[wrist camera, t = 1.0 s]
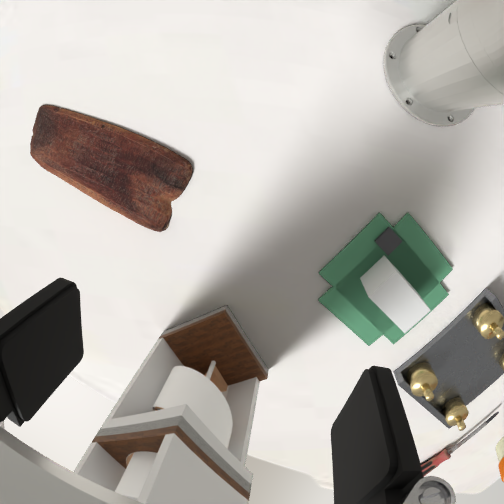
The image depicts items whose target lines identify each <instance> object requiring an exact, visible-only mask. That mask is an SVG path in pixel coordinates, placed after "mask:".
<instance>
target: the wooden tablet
mask: <svg viewBox="0 0 504 504" xmlns="http://www.w3.org/2000/svg"><path fill="white" fill-rule="evenodd" d="M30 145H31V152H30V154H31V156H32V157H33V159H35V161H36V162H37V163H38V164H39V165H40V166H41V167H43V168H44V169H46V170H47V171H49V172H51V173H52V174H54V175H56V176H57V177H59V178H61V179H62V180H64V181H66V182H67V183H69V184H70V185H72V186H74V187H76V188H77V189H79V190H80V191H82V192H83V193H85V194H87V195H88V196H90V197H92V198H93V199H95V200H97V201H98V202H100V203H102V204H103V205H105V206H107V207H109V208H110V209H112V210H114V211H116V212H118V213H120V214H121V215H124V216H125V217H127V218H129V219H131V220H132V221H134V222H136V223H138V224H140V225H142V226H144V227H146V228H149V229H151V230H154V231H159V232H161V231H164V230H166V229H167V227H168V224H169V221H170V218H171V214H172V208H171V201H174V200H175V199H177V198H178V197H179V196H180V195H181V194H182V193H183V191H184V190H185V188H186V186H187V184H188V182H189V180H190V178H191V175H192V172H193V170H192V166H191V164H190V162H189V161H188V160H186V159H185V158H183V157H181V156H180V155H177V154H176V153H174V152H173V151H171V150H169V149H168V148H165V147H163V146H161V145H159V144H157V143H155V142H153V141H151V140H149V139H147V138H145V137H142V136H140V135H138V134H135V133H133V132H130V131H128V130H125V129H123V128H120V127H118V126H115V125H112V124H109V123H106V122H103V121H100V120H98V119H95V118H92V117H89V116H86V115H83V114H79V113H76V112H73V111H70V110H67V109H63V108H61V109H60V108H59V107H55V106H50V105H43V106H41V107H40V108H39V111H38V113H37V117H36V120H35V124H34V127H33V136H32V139H31V144H30Z"/></svg>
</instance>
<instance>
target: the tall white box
mask: <svg viewBox="0 0 504 504" xmlns="http://www.w3.org/2000/svg"><path fill="white" fill-rule="evenodd" d="M267 376H268V368H267V367H266V365H265V364H264V362H263V361H262V359H261V358H260V356H259V354H258V353H257V351H256V350H255V348H254V347H253V345H252V344H251V342H250V341H249V339H248V337H247V336H246V334H245V333H244V331H243V330H242V328H241V326H240V325H239V323H238V322H237V320H236V318H235V317H234V315H233V314H232V312H231V310H230V309H229V307H228V306H227V305H226V306H224V307H221V308H219V309H217V310H214V311H212V312H210V313H207V314H205V315H202V316H200V317H198V318H195V319H193V320H190V321H188V322H186V323H183V324H181V325H178V326H176V327H174V328H171V329H169V330H166V331H164V332H163V333H162V334H161V336H160V337H159V339H158V340H157V342H156V343H155V345H154V346H153V348H152V349H151V351H150V353H149V354H148V356H147V357H146V359H145V360H144V362H143V363H142V365H141V366H140V368H139V369H138V371H137V372H136V374H135V375H134V377H133V378H132V380H131V381H130V383H129V385H128V386H127V388H126V389H125V391H124V392H123V394H122V395H121V397H120V398H119V400H118V402H117V403H116V405H115V406H114V408H113V409H112V411H111V413H110V414H109V416H108V417H107V419H106V420H105V422H104V424H103V425H102V427H101V428H100V430H99V432H98V433H97V435H96V436H95V438H94V439H93V441H92V443H91V444H90V446H89V448H88V449H87V451H86V452H85V454H84V456H83V457H82V459H81V460H80V462H79V464H78V465H77V467H76V469H75V471H74V473H76V474H78V475H80V476H82V477H84V478H86V479H88V480H90V481H92V482H94V483H96V484H98V485H100V486H102V487H105V488H107V489H109V490H111V491H114V492H116V493H118V494H121V495H123V496H126V497H128V498H131V499H133V500H136V501H138V502H141V503H144V504H248V501H249V496H250V490H251V484H252V478H253V473H251V472H250V471H249V470H248V469H247V468H246V467H245V462H246V457H247V451H248V446H249V440H250V434H251V429H252V423H253V417H254V411H255V406H256V400H257V394H258V388H259V382H260V381H262V380H265V379H267Z"/></svg>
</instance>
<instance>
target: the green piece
mask: <svg viewBox="0 0 504 504" xmlns="http://www.w3.org/2000/svg"><path fill="white" fill-rule="evenodd" d="M452 270H453V269H452V267H451V266H450V265H449V263H448V262H447V260H446V259H445V258H444V257H443V255H442V254H441V253H440V251H439V250H438V249H437V247H436V246H435V245H434V244H433V242H432V241H431V240H430V239H429V237H428V236H427V235H426V234H425V232H424V231H423V230H422V229H421V227H420V226H419V225H418V224H417V223H416V221H415V220H414V219H413V218H412V217H411V215H410V214H409V213H407V214H406V215H405V216H404V217H403V218H402V219H401V220H400V221H399V222H398V223H397V224H396V225H395V226H394V227H392V226H391V224H390V223H389V222H388V221H387V220H386V219H385V218H384V217H383V216H382V215H381V214H380V213H378V214H377V216H376V217H375V218H374V219H373V220H372V221H371V222H370V223H369V224H368V225H367V226H366V227H365V228H364V229H363V230H362V231H361V232H360V233H359V234H358V235H357V236H356V237H355V238H354V239H353V240H352V241H351V242H350V243H349V244H348V245H347V246H346V247H345V248H344V249H343V250H341V251H340V252H339V253H338V254H337V255H336V256H335V257H334V258H333V259H332V260H331V261H330V262H329V263H328V264H327V265H326V266H325V267H324V268H323V269H322V270H321V271H320V272H319V274H320V275H321V276H322V277H323V278H324V279H325V280H326V281H327V282H328V283H330V284H331V285H332V287H331V288H330V289H329V290H328V291H327V292H326V293H325V294H323V295H322V296H321V297H320V298H319V299H318V300H319V302H320V303H322V304H323V305H324V306H325V307H326V308H327V309H328V310H329V311H330V312H332V313H333V314H334V315H335V316H336V317H337V318H338V319H339V320H341V321H342V322H343V323H344V324H345V325H346V326H347V327H348V328H349V329H351V330H352V331H353V332H354V333H355V334H356V335H357V336H358V337H359V338H361V339H362V340H363V341H364V342H365V343H366V344H367V345H368V346H370V345H371V344H372V343H373V342H375V341H376V340H377V339H378V338H379V337H381V336H382V335H384V336H385V337H387V338H388V339H389V340H390V341H391V342H392V343H393V344H395V343H396V342H397V341H398V340H399V339H401V338H402V337H403V336H404V335H405V334H406V333H408V332H409V331H410V330H411V329H412V328H413V327H414V326H416V325H417V324H418V323H419V322H420V321H421V320H422V319H423V318H424V317H426V316H427V315H428V314H429V313H430V312H431V311H432V310H433V309H434V308H435V307H436V306H437V305H438V304H439V303H440V302H442V301H443V300H444V299H445V298H446V297H447V296H448V295H449V294H448V293H447V292H446V290H445V289H444V288H443V286H442V285H441V284H440V282H441V281H442V280H443V279H444V278H445V277H446V276H447V275H448V274H449V273H450V272H451V271H452Z"/></svg>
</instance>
